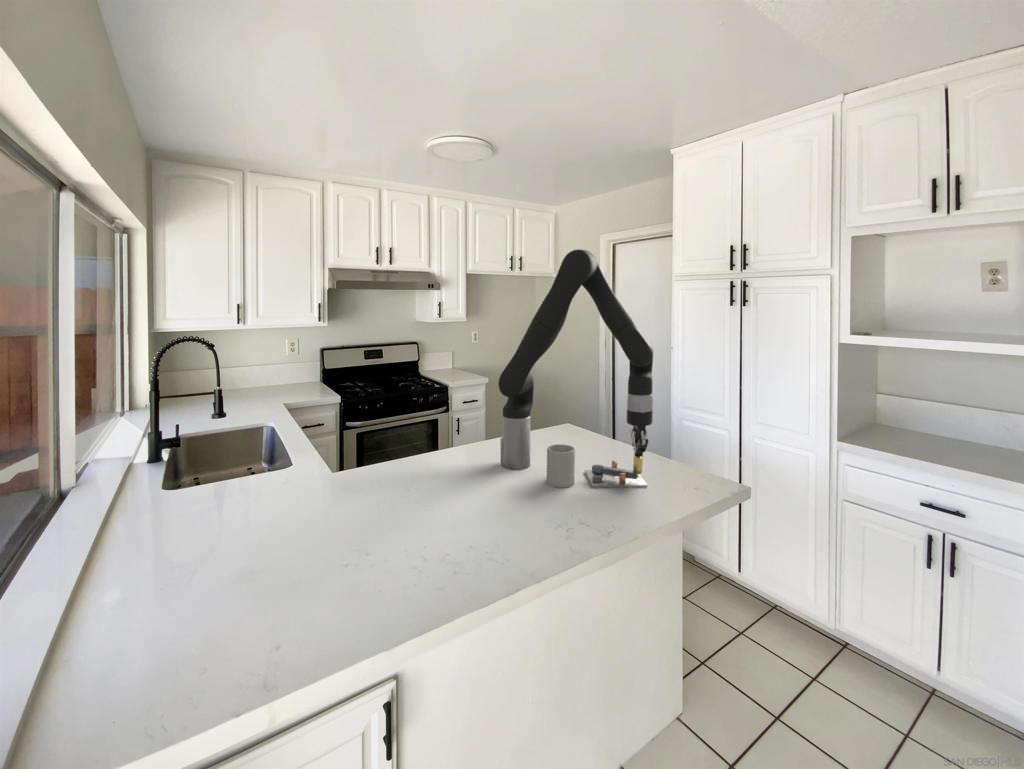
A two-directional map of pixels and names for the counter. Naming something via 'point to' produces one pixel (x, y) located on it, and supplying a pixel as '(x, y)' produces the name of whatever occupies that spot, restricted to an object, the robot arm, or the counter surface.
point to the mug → (560, 466)
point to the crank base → (613, 480)
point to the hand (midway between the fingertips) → (638, 463)
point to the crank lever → (616, 472)
